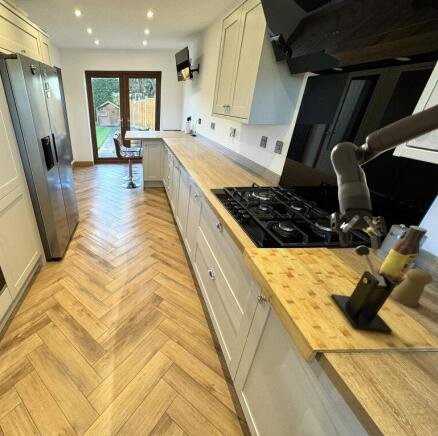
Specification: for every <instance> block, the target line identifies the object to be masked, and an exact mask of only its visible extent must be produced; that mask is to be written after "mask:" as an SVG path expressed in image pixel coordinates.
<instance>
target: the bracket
mask: <svg viewBox="0 0 438 436" xmlns="http://www.w3.org/2000/svg"><path fill="white" fill-rule="evenodd" d="M378 276H383V278H384V280H385V282H386V284H387V286H386V287H384V288H383V289H376V287H377V286H378V284H379V283H380V281H378V280H377V279H376V278H375V277H374V276H373V275H372V274H371V273H370V272H369V271H368V270H364V272H363V273H362V275H361V277H360V279H359V280H358V282H357V283H356V285H355V287H354V290H353V291H352V292H351V295H350V296H349V295H341V294H335V293H332V294H331V296H330V298H331V299H332V301H333V302H334V303H335V304H336V306H337V307H338V309H339V310H340V311H341V313H342V314H343V315H344V317H345V318H346V319H347V321H348V322H349V323H350V326H352V328H353V329H357V330H363V331H370V332H377V333H384V334H390V335H391V334H392V332H393V329H392V328H391V327H390V326H389V325H388V324H387V323H386V322H385V321H384V320H383V318H382V317H381V316H380V314H378V313H379V312H380V310H381V309H382V307H383V306H384V305H385V303H386V302H387V300H388V299H389V297H390V296H391V293H392V292H393V291H394V290H395V289H396V287H397V285H398V284H397V283H396V281H395V280H392V279H391V278H389V277H388V276H387V275H386V274H385V273H379V275H378Z"/></svg>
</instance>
